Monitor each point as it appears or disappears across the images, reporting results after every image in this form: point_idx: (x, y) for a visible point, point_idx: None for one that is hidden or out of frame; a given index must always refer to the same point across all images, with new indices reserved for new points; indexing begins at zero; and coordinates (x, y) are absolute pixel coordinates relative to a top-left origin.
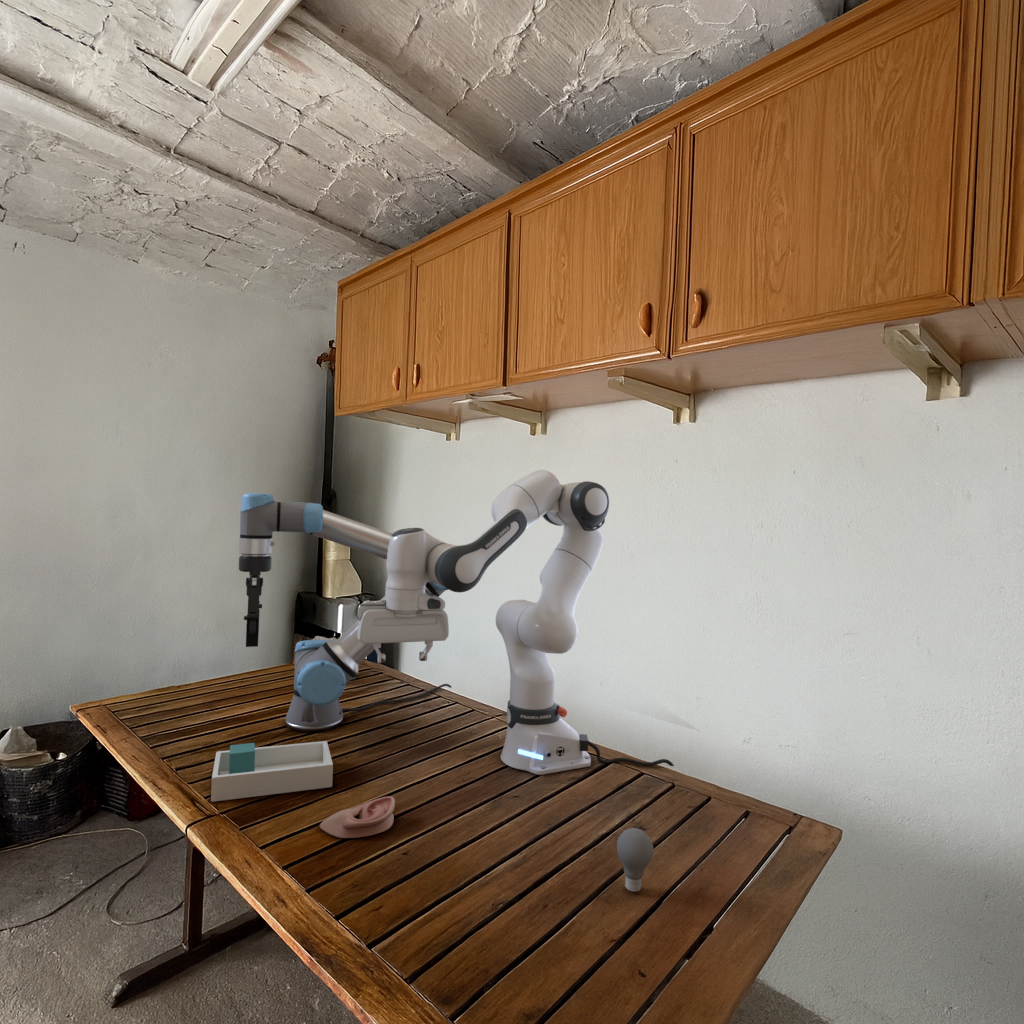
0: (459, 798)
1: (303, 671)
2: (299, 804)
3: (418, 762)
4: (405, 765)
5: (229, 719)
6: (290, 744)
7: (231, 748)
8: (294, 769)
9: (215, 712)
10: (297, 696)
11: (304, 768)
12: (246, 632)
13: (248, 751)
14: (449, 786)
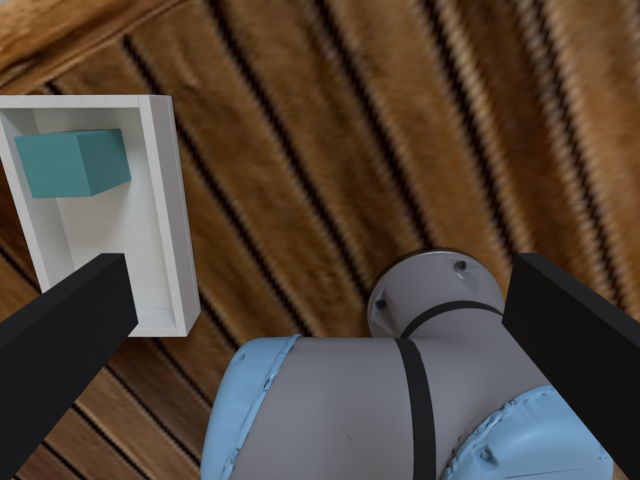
0: (37, 463)
1: (221, 405)
2: (17, 257)
3: (174, 441)
4: (165, 423)
5: (539, 108)
6: (174, 266)
7: (50, 139)
8: (36, 268)
9: (622, 62)
10: (429, 308)
11: (42, 286)
12: (20, 310)
13: (29, 182)
14: (78, 460)
